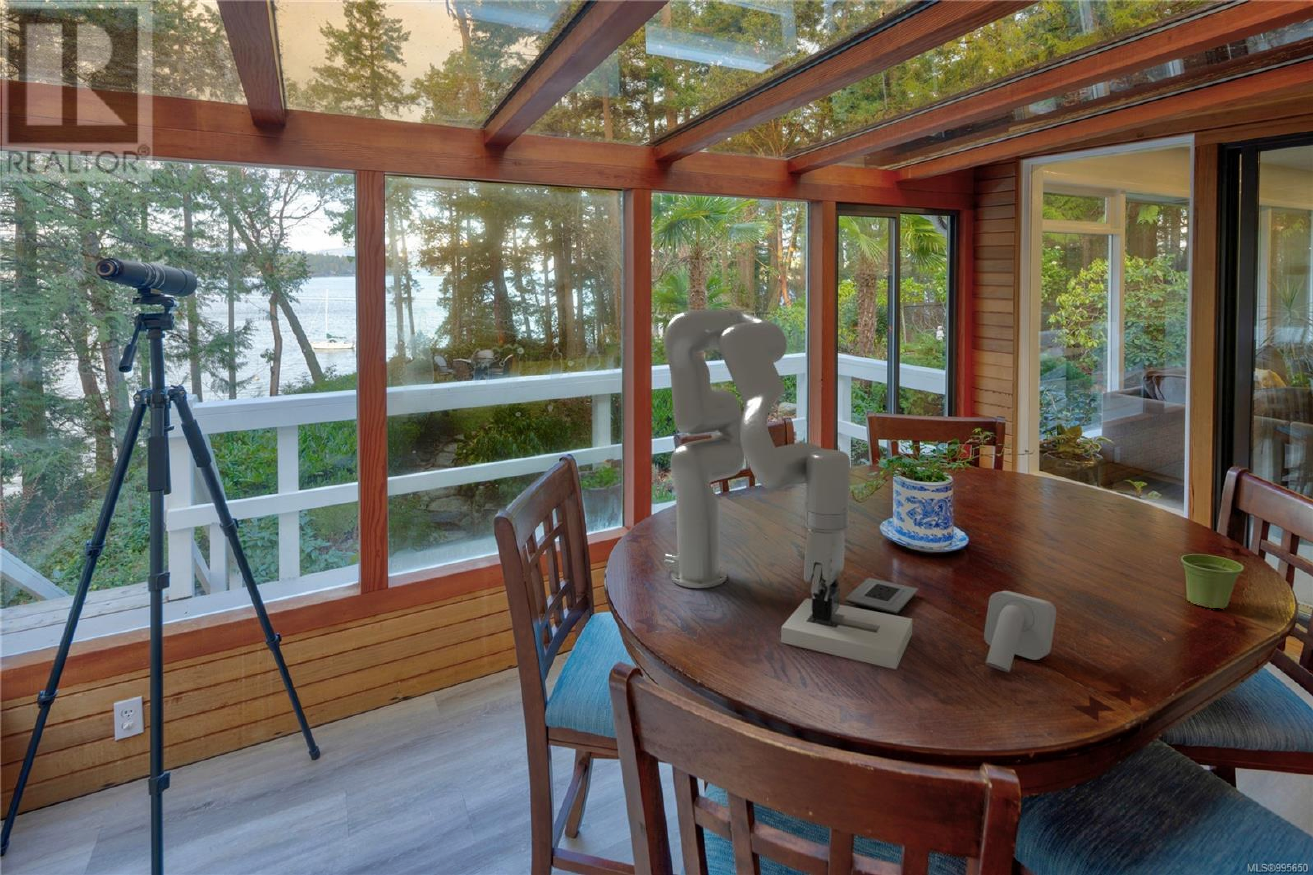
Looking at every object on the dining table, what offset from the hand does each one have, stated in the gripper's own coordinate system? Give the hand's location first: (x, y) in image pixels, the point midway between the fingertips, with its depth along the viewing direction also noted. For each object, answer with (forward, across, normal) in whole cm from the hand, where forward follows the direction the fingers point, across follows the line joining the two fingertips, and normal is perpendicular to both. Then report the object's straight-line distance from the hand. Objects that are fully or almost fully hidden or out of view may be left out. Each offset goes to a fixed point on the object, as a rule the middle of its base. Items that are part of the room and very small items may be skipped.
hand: (825, 613), depth 122 cm
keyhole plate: (+4, 0, +4) cm, 6 cm away
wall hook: (+4, -5, +30) cm, 31 cm away
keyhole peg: (+4, 0, 0) cm, 4 cm away
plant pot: (+4, -46, +62) cm, 77 cm away
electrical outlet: (+5, -19, +6) cm, 20 cm away
